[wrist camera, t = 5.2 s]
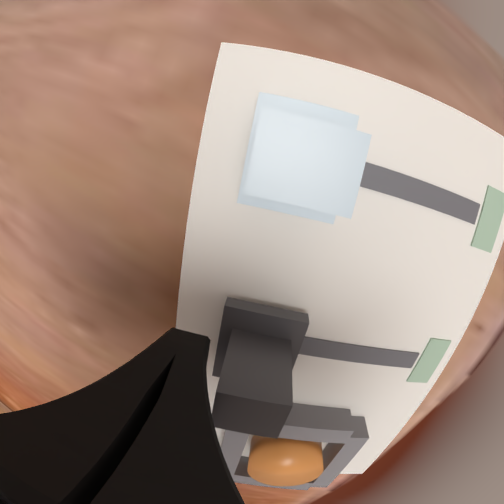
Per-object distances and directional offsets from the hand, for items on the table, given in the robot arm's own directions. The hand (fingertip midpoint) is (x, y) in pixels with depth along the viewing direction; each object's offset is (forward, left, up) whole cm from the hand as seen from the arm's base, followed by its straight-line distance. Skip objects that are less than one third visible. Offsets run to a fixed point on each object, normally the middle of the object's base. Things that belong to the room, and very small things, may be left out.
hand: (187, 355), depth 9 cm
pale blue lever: (+6, -2, -2) cm, 7 cm away
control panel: (0, -5, -3) cm, 6 cm away
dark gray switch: (0, -2, -2) cm, 3 cm away
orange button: (-6, -5, -2) cm, 8 cm away
